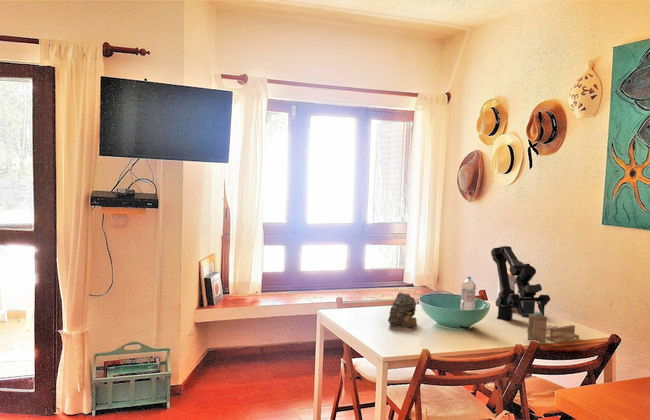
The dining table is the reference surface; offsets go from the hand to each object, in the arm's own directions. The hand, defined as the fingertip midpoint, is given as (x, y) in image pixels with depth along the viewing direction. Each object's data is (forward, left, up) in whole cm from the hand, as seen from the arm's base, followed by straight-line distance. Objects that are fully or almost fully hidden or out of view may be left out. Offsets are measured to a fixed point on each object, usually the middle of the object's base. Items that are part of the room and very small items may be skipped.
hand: (533, 315), depth 211 cm
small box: (-10, +42, -11) cm, 44 cm away
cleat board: (+7, +11, -11) cm, 17 cm away
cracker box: (-23, +50, -11) cm, 56 cm away
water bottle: (-30, -2, -11) cm, 32 cm away
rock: (-56, -20, -11) cm, 60 cm away
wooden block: (+2, -3, -11) cm, 11 cm away
